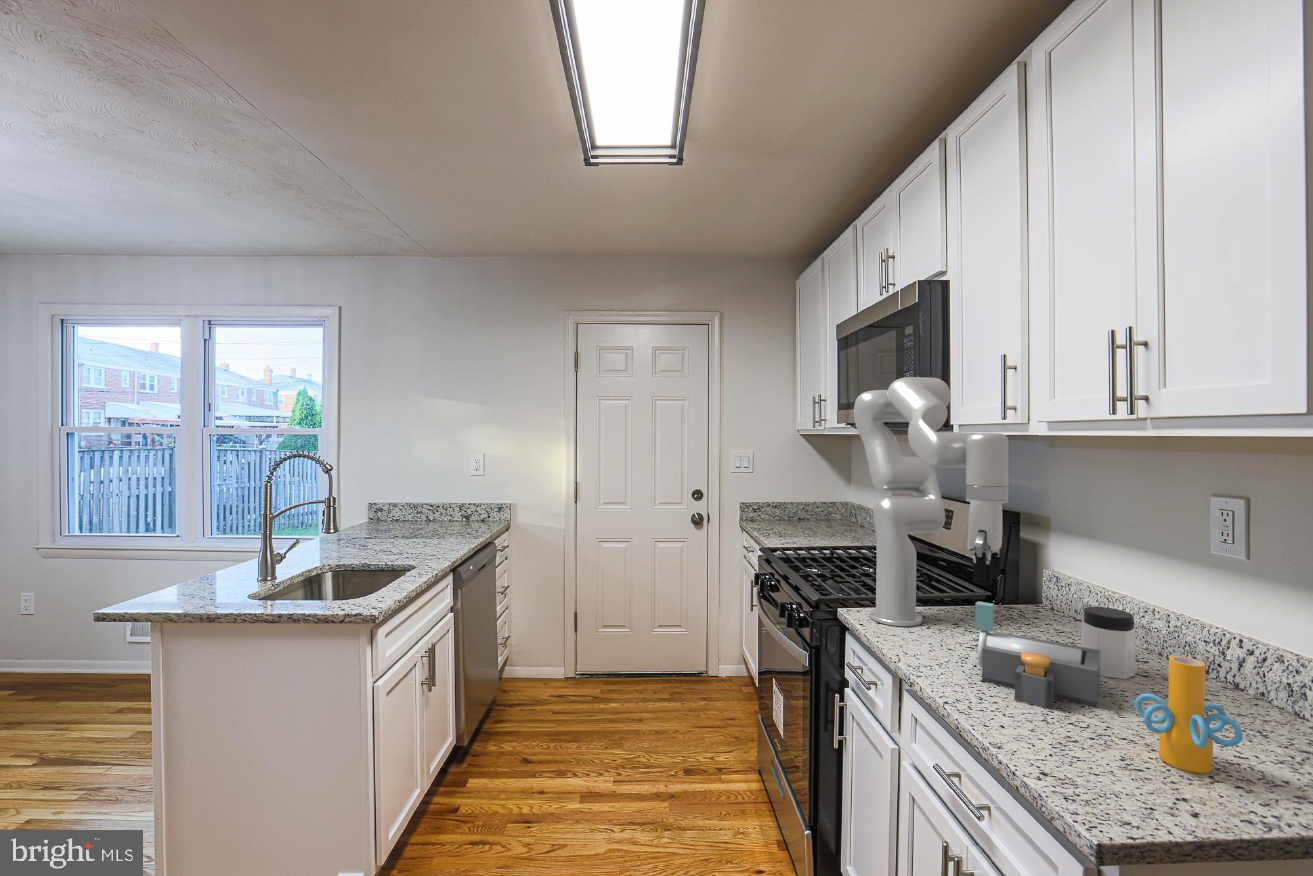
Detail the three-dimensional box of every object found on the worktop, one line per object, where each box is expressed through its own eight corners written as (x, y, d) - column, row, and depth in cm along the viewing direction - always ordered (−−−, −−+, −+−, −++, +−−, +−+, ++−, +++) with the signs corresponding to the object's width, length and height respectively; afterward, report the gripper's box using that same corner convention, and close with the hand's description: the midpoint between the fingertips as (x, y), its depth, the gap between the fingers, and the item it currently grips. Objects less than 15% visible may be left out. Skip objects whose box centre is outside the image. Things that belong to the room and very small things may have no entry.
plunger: (1022, 686, 114) (1022, 650, 114) (1050, 692, 111) (1051, 655, 111) (1019, 694, 111) (1019, 657, 111) (1047, 701, 108) (1048, 663, 108)
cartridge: (979, 659, 128) (979, 598, 128) (1081, 680, 117) (1082, 614, 117) (971, 669, 122) (972, 606, 122) (1079, 693, 112) (1080, 624, 112)
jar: (1122, 683, 119) (1123, 621, 119) (1074, 669, 126) (1075, 610, 125) (1140, 673, 124) (1141, 613, 124) (1094, 660, 130) (1095, 604, 130)
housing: (993, 662, 129) (994, 631, 129) (1099, 684, 118) (1100, 650, 118) (976, 691, 114) (976, 656, 114) (1095, 719, 103) (1096, 681, 103)
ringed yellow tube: (1251, 771, 88) (1253, 666, 88) (1231, 795, 82) (1233, 683, 82) (1146, 736, 98) (1148, 642, 98) (1121, 755, 92) (1123, 655, 92)
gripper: (974, 491, 133) (974, 570, 133) (956, 496, 119) (956, 584, 119) (1014, 492, 128) (1014, 575, 128) (1000, 498, 115) (1000, 590, 115)
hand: (986, 579), depth 124 cm, fingers open, 9 cm apart
